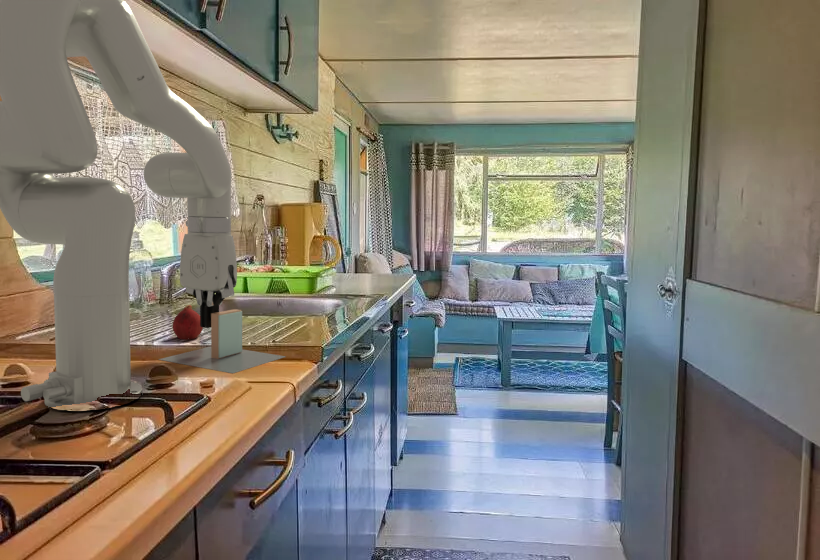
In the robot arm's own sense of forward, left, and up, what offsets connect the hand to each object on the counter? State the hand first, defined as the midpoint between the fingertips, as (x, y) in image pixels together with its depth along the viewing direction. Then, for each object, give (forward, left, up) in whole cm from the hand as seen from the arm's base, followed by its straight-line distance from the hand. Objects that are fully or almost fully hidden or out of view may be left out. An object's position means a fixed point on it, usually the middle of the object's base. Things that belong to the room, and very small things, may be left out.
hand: (209, 326), depth 115 cm
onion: (+7, +13, -6) cm, 16 cm away
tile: (0, -4, -5) cm, 6 cm away
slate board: (-2, -5, -6) cm, 8 cm away
